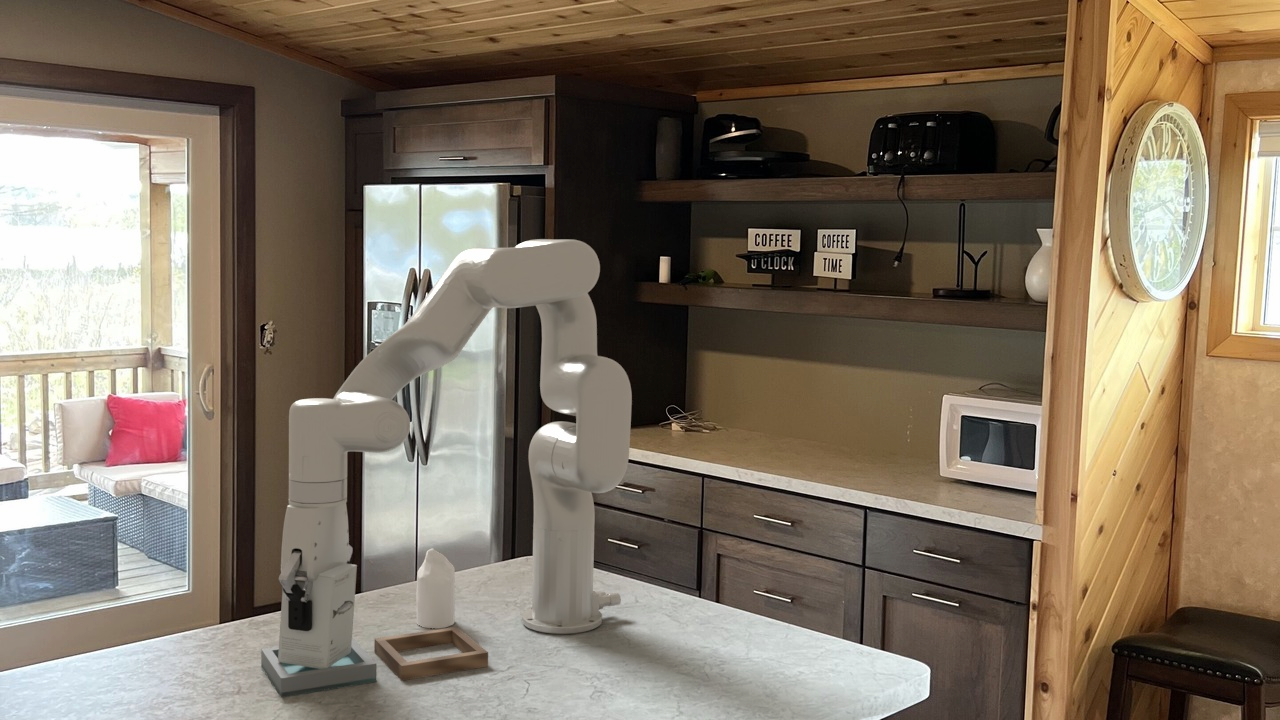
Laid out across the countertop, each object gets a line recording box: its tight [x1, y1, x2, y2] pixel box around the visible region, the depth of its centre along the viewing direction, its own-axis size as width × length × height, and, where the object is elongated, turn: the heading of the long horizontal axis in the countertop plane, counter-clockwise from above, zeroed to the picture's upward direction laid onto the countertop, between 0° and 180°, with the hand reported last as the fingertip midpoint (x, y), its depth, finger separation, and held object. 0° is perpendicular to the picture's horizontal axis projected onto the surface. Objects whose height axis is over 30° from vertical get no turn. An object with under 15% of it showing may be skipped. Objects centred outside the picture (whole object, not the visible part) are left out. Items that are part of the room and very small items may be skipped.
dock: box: [260, 637, 378, 698], centre depth 154 cm, size 12×12×2 cm
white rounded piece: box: [415, 548, 456, 629], centre depth 176 cm, size 6×12×6 cm
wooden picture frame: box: [374, 626, 489, 681], centre depth 160 cm, size 12×12×2 cm
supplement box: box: [278, 563, 358, 669], centre depth 153 cm, size 7×7×13 cm
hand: (317, 619), depth 153 cm, fingers closed on supplement box, 7 cm apart
